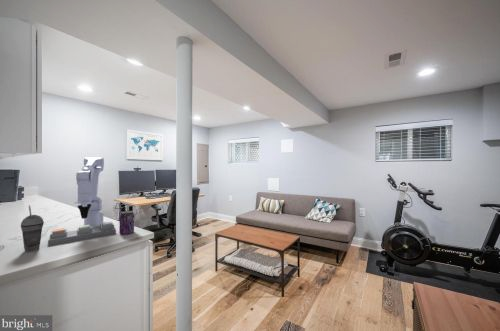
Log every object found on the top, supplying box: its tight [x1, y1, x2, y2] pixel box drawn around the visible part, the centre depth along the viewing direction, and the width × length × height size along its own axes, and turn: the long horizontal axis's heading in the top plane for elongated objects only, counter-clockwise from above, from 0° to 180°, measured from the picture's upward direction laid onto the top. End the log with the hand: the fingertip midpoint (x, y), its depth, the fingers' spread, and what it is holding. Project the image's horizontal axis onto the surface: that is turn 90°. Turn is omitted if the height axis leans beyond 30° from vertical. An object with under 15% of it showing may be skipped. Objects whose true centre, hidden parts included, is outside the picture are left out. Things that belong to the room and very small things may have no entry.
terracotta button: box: [53, 227, 65, 234], centre depth 103 cm, size 4×4×2 cm
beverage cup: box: [20, 205, 45, 253], centre depth 91 cm, size 7×7×20 cm
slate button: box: [102, 221, 113, 226], centre depth 116 cm, size 4×4×2 cm
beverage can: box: [118, 210, 135, 235], centre depth 115 cm, size 7×7×12 cm
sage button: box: [78, 224, 90, 230], centre depth 109 cm, size 4×4×2 cm
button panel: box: [47, 222, 117, 247], centre depth 109 cm, size 27×11×4 cm, turn 130°
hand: (84, 218), depth 110 cm, fingers closed
